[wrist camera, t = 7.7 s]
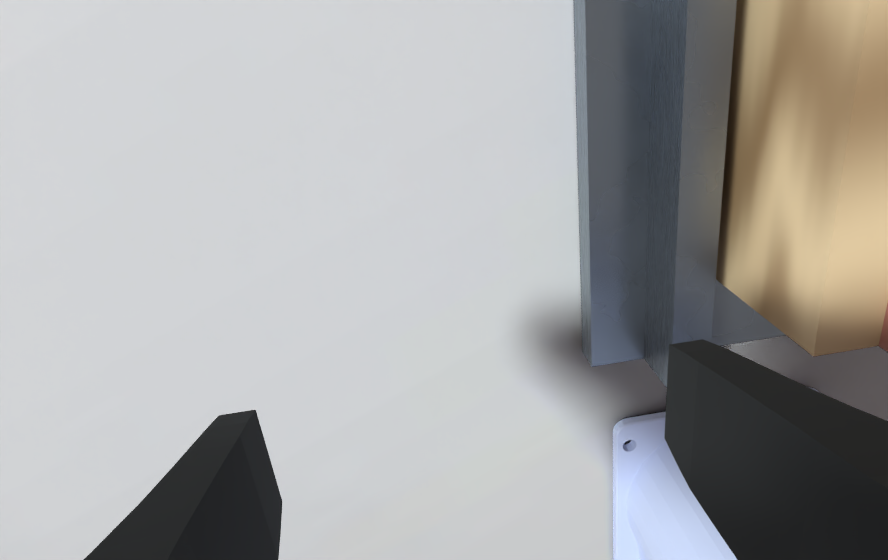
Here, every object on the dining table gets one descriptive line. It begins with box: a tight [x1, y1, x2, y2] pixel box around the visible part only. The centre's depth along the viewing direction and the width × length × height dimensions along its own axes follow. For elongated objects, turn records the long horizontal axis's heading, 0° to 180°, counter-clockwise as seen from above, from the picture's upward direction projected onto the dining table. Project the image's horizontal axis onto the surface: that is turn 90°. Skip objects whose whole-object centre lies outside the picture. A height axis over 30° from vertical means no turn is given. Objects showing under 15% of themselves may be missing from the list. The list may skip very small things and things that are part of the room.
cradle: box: [574, 0, 887, 387], centre depth 17 cm, size 18×12×3 cm, turn 7°
